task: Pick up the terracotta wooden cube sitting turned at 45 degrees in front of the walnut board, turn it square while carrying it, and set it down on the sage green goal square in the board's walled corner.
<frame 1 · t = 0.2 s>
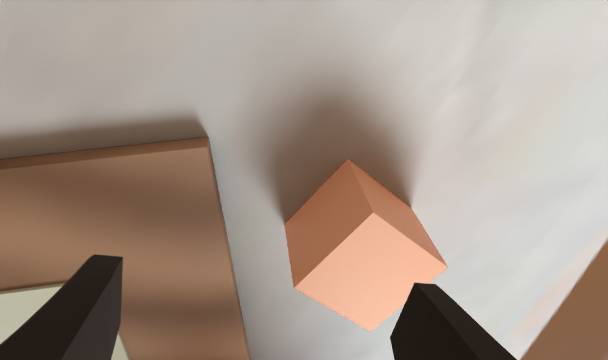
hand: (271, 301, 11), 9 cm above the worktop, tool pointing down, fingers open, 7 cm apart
cube: (348, 215, 21), on the worktop
arena: (74, 300, 22), on the worktop
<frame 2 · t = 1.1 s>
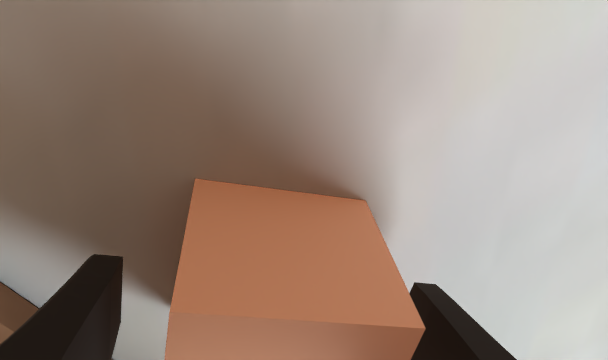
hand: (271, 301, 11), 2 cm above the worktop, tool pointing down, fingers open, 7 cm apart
cube: (268, 256, 12), on the worktop
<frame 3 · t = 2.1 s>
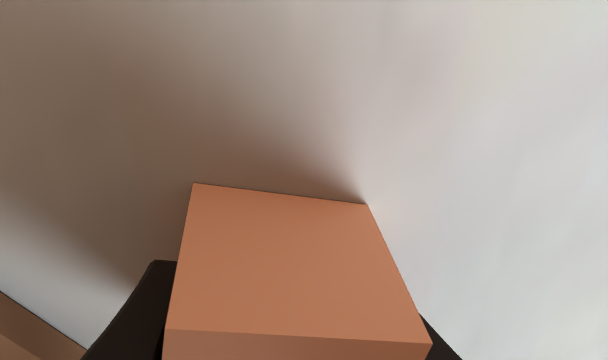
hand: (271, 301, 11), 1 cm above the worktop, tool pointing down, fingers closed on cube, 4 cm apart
cube: (268, 263, 12), on the worktop, touching gripper
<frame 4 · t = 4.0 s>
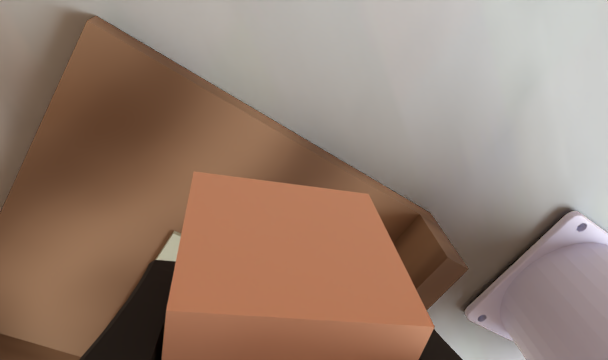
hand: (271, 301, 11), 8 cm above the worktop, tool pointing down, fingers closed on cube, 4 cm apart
cube: (269, 253, 12), point 7 cm above the worktop, touching gripper
arena: (196, 265, 20), on the worktop
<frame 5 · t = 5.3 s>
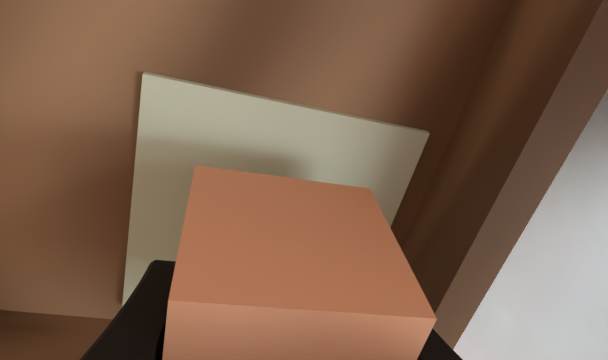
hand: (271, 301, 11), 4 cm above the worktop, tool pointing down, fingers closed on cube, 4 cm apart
cube: (270, 248, 12), point 3 cm above the worktop, touching gripper
arena: (213, 140, 13), on the worktop
when the fingers open (4 cm above the worktop, at t = 6.2 s): cube drops 1 cm, resting on arena.
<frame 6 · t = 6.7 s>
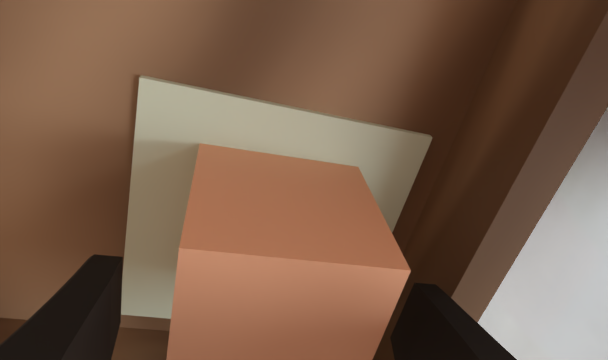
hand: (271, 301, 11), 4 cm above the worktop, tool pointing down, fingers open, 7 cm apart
cube: (267, 221, 13), point 1 cm above the worktop, touching arena
arena: (212, 145, 13), on the worktop
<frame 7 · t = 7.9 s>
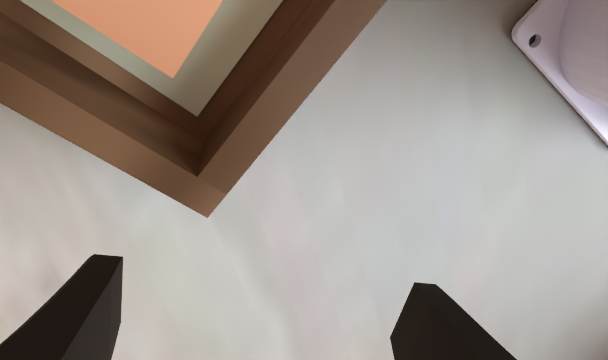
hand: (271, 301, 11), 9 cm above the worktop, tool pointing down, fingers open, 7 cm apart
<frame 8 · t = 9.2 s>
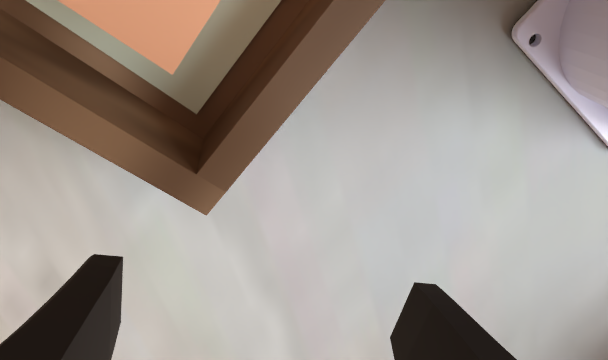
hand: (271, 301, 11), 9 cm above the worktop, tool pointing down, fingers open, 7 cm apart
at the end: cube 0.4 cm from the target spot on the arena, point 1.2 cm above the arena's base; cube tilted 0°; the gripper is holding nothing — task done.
